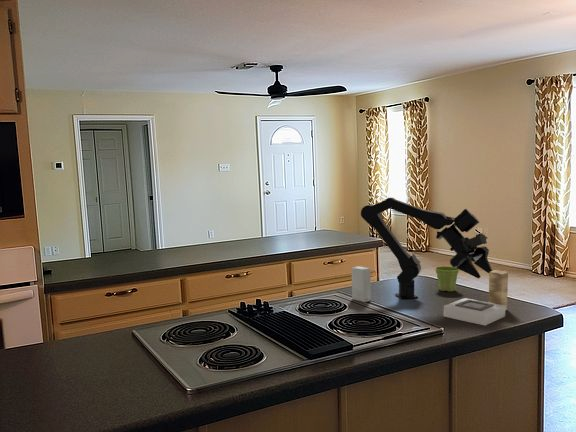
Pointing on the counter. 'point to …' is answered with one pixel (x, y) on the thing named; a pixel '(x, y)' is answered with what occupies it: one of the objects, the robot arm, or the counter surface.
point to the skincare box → (361, 283)
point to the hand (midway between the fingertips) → (485, 275)
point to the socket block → (474, 311)
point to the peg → (498, 287)
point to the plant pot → (446, 278)
